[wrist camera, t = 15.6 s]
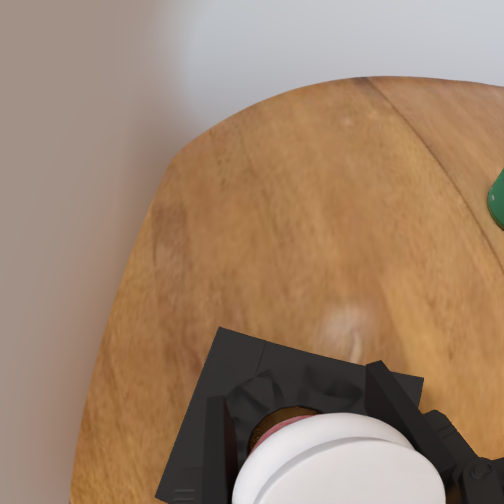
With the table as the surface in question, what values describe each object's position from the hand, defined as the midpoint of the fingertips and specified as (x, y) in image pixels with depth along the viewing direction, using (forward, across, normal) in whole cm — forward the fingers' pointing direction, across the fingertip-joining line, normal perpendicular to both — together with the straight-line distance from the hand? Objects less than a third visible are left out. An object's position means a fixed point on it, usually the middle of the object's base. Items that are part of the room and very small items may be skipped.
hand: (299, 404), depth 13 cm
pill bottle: (0, 0, -5) cm, 5 cm away
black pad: (+7, 0, -12) cm, 14 cm away
